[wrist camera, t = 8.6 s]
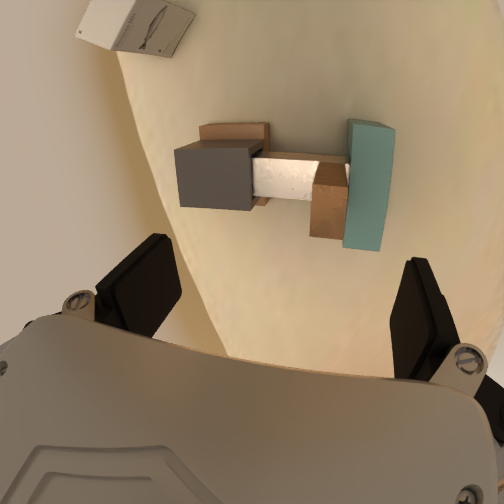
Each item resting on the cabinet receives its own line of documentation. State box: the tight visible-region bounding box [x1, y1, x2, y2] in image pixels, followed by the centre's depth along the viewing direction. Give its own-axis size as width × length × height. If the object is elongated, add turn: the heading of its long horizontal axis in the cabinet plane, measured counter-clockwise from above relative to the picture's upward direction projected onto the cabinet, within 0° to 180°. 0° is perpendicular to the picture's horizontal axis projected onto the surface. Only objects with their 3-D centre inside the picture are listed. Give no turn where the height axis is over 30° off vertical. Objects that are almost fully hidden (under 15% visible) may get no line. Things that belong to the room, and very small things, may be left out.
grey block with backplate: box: [174, 123, 270, 211], centre depth 32 cm, size 10×8×9 cm
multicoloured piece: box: [251, 151, 351, 240], centre depth 26 cm, size 4×14×12 cm, turn 92°
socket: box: [343, 119, 395, 252], centre depth 28 cm, size 12×4×10 cm, turn 2°
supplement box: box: [74, 0, 195, 58], centre depth 24 cm, size 7×7×13 cm
